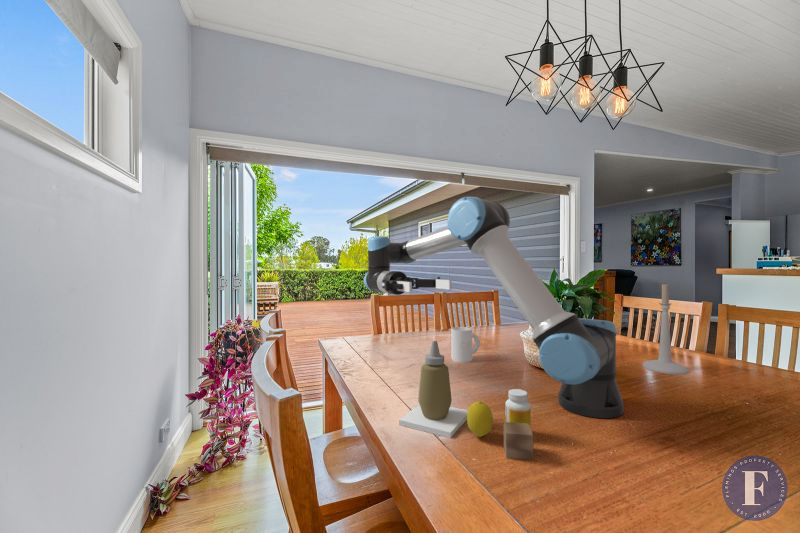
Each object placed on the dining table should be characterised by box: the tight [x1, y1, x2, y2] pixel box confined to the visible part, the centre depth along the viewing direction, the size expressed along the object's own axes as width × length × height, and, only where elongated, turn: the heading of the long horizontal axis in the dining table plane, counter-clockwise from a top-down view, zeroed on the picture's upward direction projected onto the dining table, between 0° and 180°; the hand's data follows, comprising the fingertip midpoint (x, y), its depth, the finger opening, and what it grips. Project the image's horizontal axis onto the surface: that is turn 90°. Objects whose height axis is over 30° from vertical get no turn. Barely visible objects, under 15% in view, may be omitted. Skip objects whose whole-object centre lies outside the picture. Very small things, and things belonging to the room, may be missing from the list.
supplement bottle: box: [504, 388, 532, 430], centre depth 81 cm, size 5×5×10 cm
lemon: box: [466, 400, 494, 438], centre depth 80 cm, size 6×6×8 cm
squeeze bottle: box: [418, 340, 452, 419], centre depth 89 cm, size 8×8×18 cm
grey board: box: [398, 403, 469, 439], centre depth 89 cm, size 13×13×1 cm
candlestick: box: [642, 282, 689, 375], centre depth 128 cm, size 13×13×30 cm
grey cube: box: [503, 421, 534, 461], centre depth 74 cm, size 5×5×5 cm
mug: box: [450, 326, 481, 363], centre depth 142 cm, size 8×12×12 cm
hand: (431, 285), depth 102 cm, fingers open, 13 cm apart
